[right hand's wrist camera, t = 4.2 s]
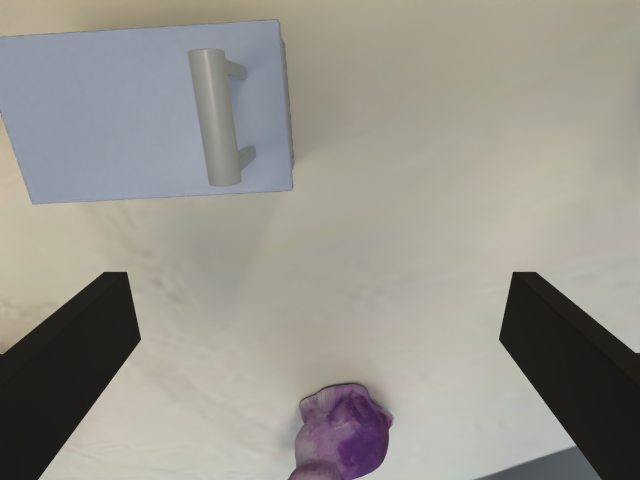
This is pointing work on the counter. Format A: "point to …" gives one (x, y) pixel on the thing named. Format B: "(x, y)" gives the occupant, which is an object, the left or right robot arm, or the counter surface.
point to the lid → (148, 111)
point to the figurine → (341, 435)
